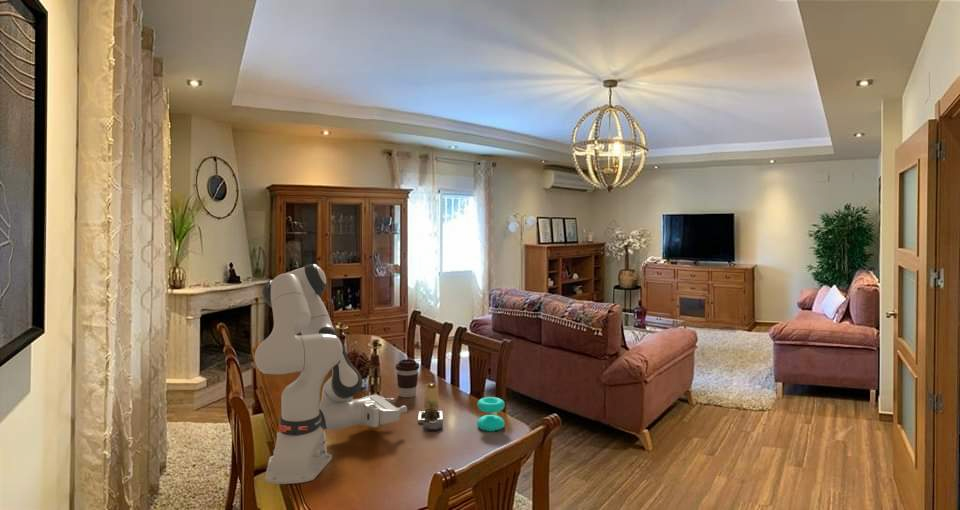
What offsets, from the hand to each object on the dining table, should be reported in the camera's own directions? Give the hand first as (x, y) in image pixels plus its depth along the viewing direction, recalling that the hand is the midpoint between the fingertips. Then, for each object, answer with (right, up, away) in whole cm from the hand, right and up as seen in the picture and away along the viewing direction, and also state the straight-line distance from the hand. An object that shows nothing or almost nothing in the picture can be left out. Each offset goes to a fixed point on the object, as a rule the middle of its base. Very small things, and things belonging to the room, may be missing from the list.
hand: (400, 404), depth 190 cm
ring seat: (+10, -8, +7) cm, 15 cm away
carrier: (+12, -8, +1) cm, 14 cm away
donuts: (+33, -9, 0) cm, 34 cm away
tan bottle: (+10, -7, +9) cm, 15 cm away
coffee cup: (-2, -6, +35) cm, 36 cm away
